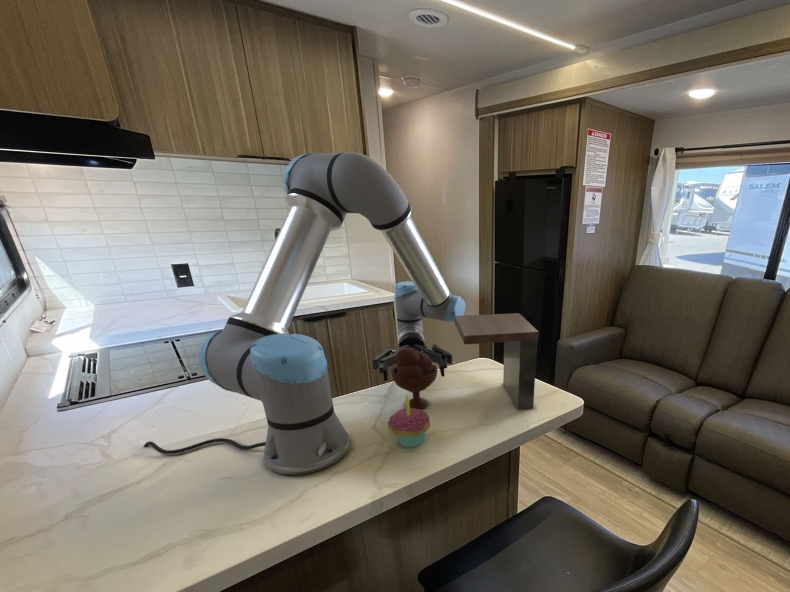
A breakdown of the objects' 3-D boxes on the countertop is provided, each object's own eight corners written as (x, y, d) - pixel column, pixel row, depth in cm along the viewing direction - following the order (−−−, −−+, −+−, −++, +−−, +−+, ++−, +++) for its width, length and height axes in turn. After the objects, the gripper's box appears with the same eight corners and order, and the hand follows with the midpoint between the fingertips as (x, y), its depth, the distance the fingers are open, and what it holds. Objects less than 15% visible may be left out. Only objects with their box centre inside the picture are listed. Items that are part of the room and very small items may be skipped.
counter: (465, 416, 95) (464, 335, 87) (456, 387, 109) (454, 316, 101) (533, 409, 99) (538, 331, 91) (516, 382, 113) (519, 313, 105)
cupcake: (433, 449, 82) (430, 397, 77) (390, 455, 80) (384, 402, 75) (428, 427, 90) (425, 379, 85) (389, 432, 88) (384, 383, 83)
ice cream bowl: (416, 420, 93) (411, 360, 87) (385, 405, 99) (378, 348, 93) (448, 403, 100) (446, 347, 94) (417, 391, 107) (413, 337, 100)
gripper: (455, 353, 119) (466, 383, 101) (367, 359, 114) (362, 391, 95) (454, 329, 116) (465, 355, 98) (364, 334, 111) (358, 362, 92)
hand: (414, 373), depth 96 cm, fingers open, 13 cm apart
